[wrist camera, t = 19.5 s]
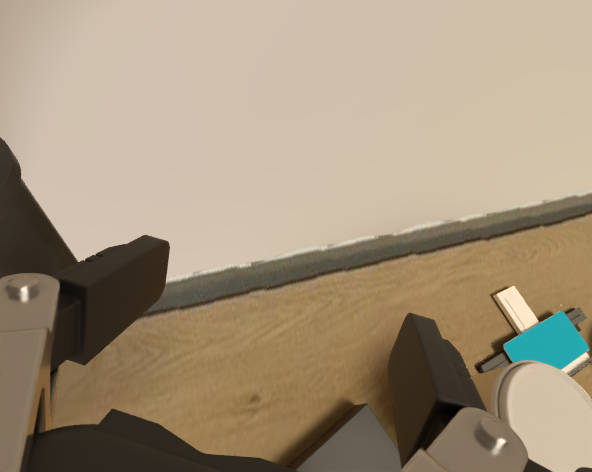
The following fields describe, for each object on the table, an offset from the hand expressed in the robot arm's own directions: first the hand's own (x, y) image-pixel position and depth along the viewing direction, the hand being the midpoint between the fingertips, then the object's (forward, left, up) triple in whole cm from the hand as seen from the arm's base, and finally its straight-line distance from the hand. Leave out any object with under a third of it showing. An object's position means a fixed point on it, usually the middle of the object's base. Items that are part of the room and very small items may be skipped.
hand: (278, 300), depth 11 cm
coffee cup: (+23, -2, -24) cm, 33 cm away
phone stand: (+36, +9, -24) cm, 44 cm away
